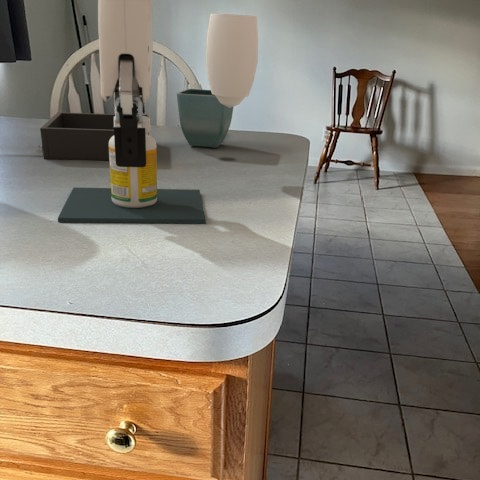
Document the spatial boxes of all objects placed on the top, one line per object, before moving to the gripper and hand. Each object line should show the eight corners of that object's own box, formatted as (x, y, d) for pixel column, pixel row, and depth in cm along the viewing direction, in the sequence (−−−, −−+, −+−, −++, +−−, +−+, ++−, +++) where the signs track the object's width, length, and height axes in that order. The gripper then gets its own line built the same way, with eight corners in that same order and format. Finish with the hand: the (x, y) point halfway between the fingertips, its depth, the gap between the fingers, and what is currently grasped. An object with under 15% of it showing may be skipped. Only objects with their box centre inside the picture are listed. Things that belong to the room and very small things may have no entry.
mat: (58, 222, 58) (57, 217, 58) (73, 191, 69) (73, 187, 69) (205, 223, 61) (205, 219, 60) (199, 193, 71) (199, 189, 71)
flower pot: (187, 138, 103) (188, 87, 98) (233, 142, 102) (236, 91, 97) (175, 147, 95) (175, 92, 91) (225, 152, 94) (227, 96, 90)
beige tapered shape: (214, 177, 79) (219, 13, 69) (196, 165, 84) (198, 12, 74) (258, 174, 82) (269, 16, 72) (238, 163, 87) (246, 15, 77)
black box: (43, 158, 83) (40, 128, 81) (60, 138, 96) (57, 112, 94) (147, 161, 85) (146, 131, 83) (149, 141, 98) (148, 115, 96)
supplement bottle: (110, 209, 62) (105, 120, 57) (112, 195, 66) (107, 112, 62) (158, 209, 63) (156, 122, 58) (156, 195, 67) (155, 114, 63)
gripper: (96, -21, 61) (106, 141, 69) (74, -33, 45) (90, 176, 54) (163, -16, 62) (165, 142, 70) (164, -27, 46) (166, 177, 55)
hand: (133, 156), depth 62 cm, fingers open, 8 cm apart
